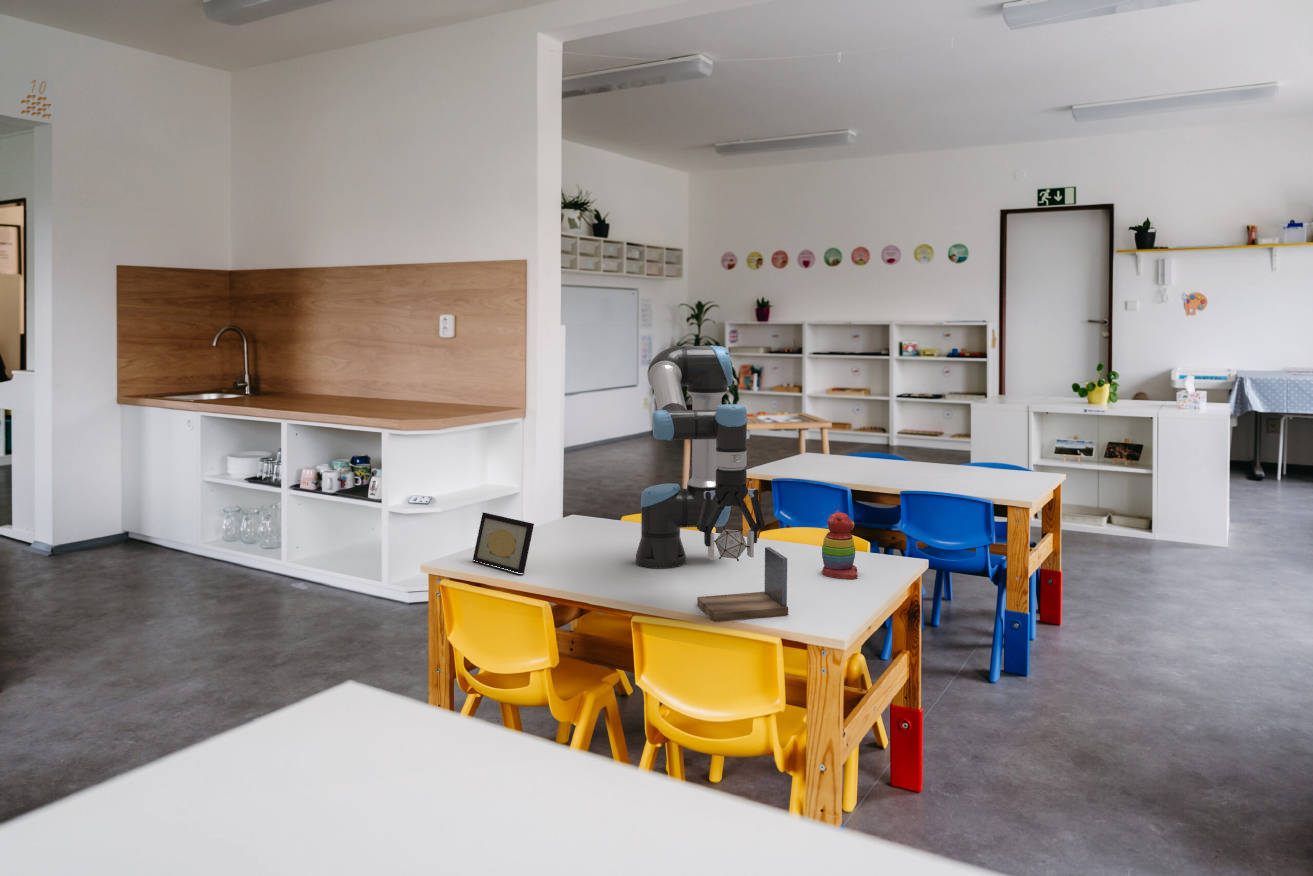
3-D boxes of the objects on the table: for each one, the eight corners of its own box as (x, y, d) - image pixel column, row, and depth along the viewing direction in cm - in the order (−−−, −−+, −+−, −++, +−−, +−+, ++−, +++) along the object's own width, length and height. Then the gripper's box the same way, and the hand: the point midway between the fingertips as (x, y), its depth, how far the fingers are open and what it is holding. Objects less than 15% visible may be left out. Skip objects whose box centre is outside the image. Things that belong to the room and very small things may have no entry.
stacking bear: (857, 580, 251) (859, 517, 249) (821, 578, 253) (822, 516, 251) (857, 569, 262) (858, 509, 260) (821, 568, 264) (822, 508, 262)
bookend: (764, 592, 233) (764, 547, 231) (768, 592, 233) (769, 546, 232) (782, 606, 221) (782, 558, 220) (786, 606, 222) (787, 558, 220)
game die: (723, 572, 224) (708, 537, 228) (754, 560, 225) (739, 525, 228) (721, 563, 216) (706, 527, 220) (754, 550, 216) (738, 514, 220)
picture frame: (472, 562, 273) (475, 512, 272) (495, 559, 279) (499, 511, 279) (520, 576, 257) (523, 523, 256) (544, 573, 264) (547, 522, 263)
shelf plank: (697, 604, 230) (697, 597, 229) (767, 598, 234) (767, 591, 234) (714, 621, 216) (714, 613, 216) (788, 615, 221) (788, 607, 221)
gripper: (691, 472, 214) (692, 564, 216) (779, 468, 219) (778, 558, 222) (683, 467, 221) (683, 556, 224) (768, 463, 226) (767, 551, 229)
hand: (730, 557), depth 223 cm, fingers closed on game die, 9 cm apart
